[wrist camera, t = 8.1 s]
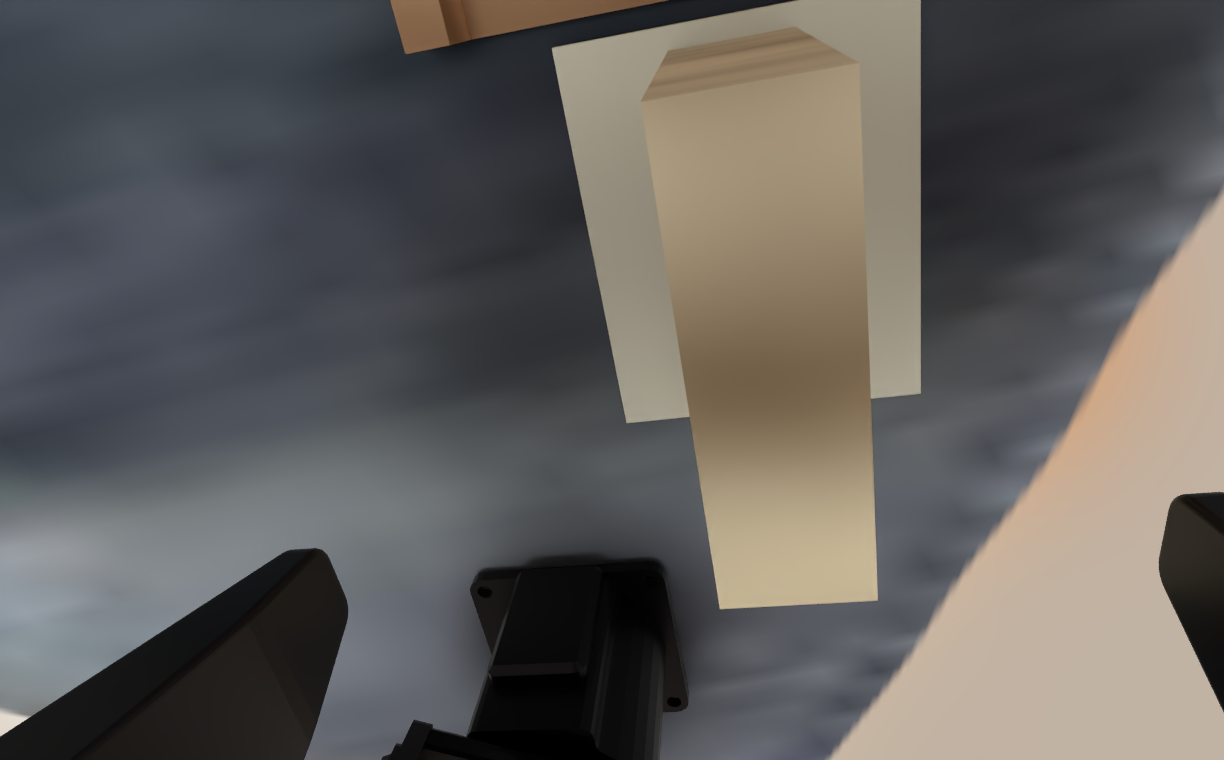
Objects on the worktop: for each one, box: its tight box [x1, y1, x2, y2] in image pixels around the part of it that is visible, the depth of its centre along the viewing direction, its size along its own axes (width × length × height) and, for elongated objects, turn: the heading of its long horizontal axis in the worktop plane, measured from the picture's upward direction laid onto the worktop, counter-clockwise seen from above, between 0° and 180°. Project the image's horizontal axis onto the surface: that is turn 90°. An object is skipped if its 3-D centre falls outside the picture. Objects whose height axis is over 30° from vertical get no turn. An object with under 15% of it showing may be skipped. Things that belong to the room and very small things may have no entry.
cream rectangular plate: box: [552, 0, 921, 423], centre depth 19 cm, size 10×8×1 cm
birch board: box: [640, 27, 878, 609], centre depth 15 cm, size 9×3×8 cm, turn 11°
